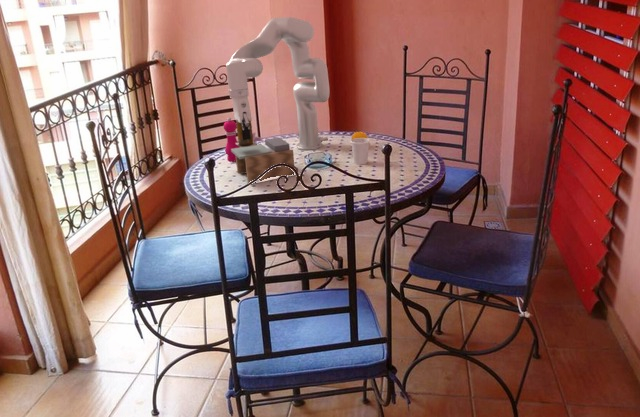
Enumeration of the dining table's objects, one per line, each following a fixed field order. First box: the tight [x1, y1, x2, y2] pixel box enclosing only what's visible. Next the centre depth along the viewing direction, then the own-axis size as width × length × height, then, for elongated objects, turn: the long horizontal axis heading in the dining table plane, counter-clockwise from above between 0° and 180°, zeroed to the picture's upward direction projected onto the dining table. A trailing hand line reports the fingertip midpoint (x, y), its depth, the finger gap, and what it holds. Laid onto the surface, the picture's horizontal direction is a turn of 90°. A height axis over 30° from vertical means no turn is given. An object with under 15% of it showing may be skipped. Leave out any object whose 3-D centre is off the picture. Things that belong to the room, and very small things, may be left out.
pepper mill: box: [223, 117, 240, 163], centre depth 251 cm, size 7×7×20 cm
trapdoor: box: [231, 137, 291, 159], centre depth 227 cm, size 21×14×4 cm, turn 113°
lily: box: [237, 132, 264, 143], centre depth 268 cm, size 12×12×10 cm
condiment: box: [235, 120, 258, 147], centre depth 221 cm, size 7×8×12 cm
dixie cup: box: [350, 137, 371, 166], centre depth 236 cm, size 8×8×10 cm
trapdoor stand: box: [235, 142, 299, 184], centre depth 229 cm, size 21×18×11 cm
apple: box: [350, 131, 369, 141], centre depth 260 cm, size 8×8×8 cm
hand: (244, 137), depth 222 cm, fingers closed on condiment, 6 cm apart
